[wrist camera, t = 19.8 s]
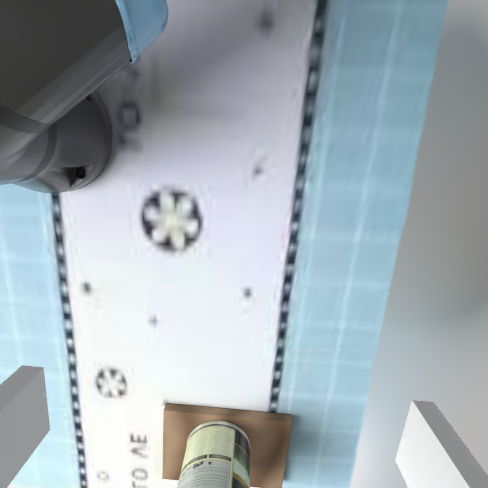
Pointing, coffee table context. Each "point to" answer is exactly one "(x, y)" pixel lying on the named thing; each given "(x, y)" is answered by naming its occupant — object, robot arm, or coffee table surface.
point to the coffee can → (216, 457)
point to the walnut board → (251, 422)
